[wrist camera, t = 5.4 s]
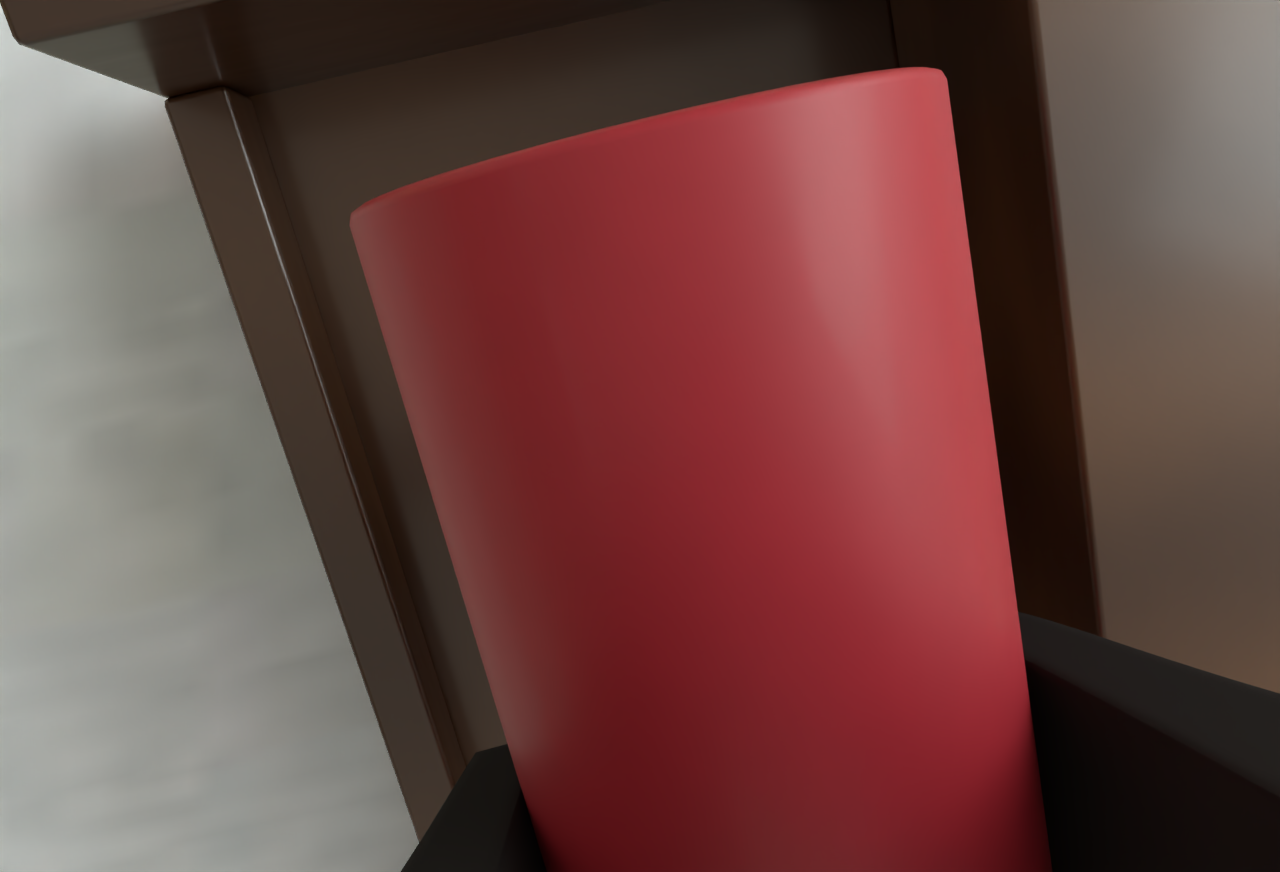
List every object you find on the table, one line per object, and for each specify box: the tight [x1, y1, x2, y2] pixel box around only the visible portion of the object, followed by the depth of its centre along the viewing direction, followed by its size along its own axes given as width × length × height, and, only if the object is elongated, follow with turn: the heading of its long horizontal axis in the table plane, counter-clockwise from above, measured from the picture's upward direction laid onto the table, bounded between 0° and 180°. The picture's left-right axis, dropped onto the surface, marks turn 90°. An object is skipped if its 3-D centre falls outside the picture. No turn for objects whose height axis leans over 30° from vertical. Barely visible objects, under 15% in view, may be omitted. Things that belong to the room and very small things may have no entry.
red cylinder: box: [349, 67, 1052, 872], centre depth 8 cm, size 12×4×4 cm
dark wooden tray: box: [0, 0, 1280, 842], centre depth 13 cm, size 18×14×6 cm
